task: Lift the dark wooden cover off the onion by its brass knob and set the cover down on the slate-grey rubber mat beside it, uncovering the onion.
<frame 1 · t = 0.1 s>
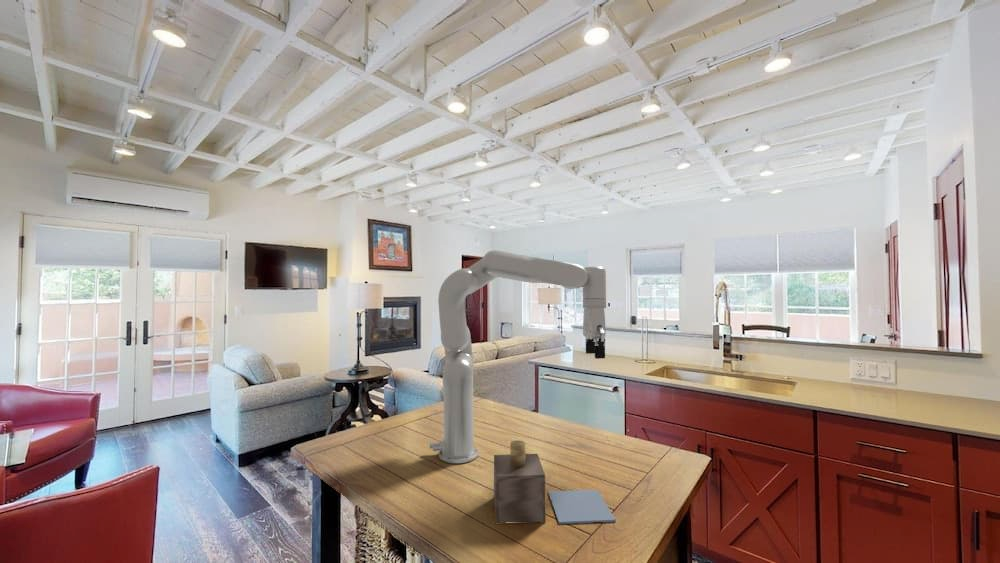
hand: (595, 355, 124), 31 cm above the table, tool pointing down, fingers open, 9 cm apart
mat: (579, 506, 91), on the table
onion: (518, 509, 90), on the table
cover: (518, 508, 90), on the table
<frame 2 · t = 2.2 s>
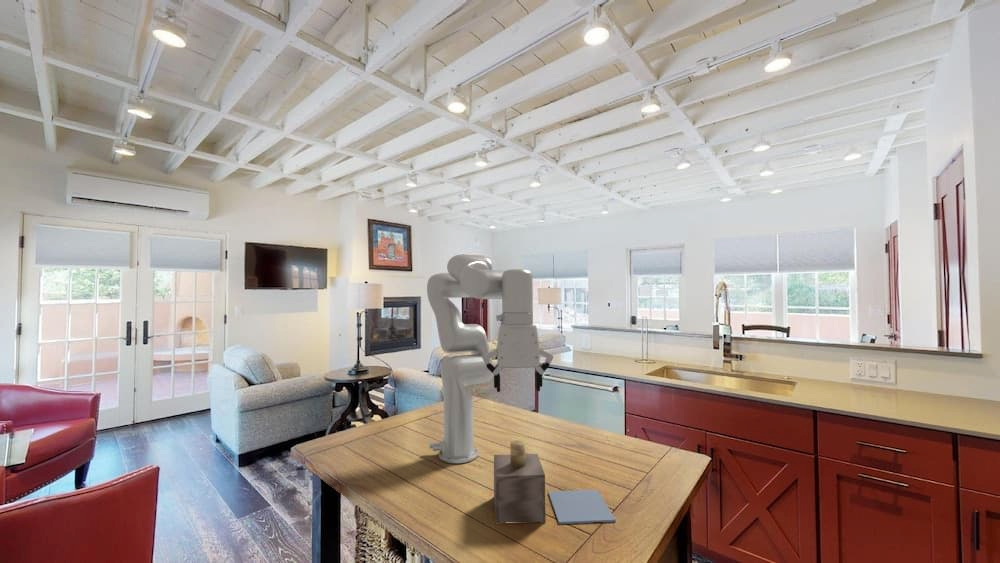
hand: (518, 390, 91), 28 cm above the table, tool pointing down, fingers open, 9 cm apart
nothing on the table moved.
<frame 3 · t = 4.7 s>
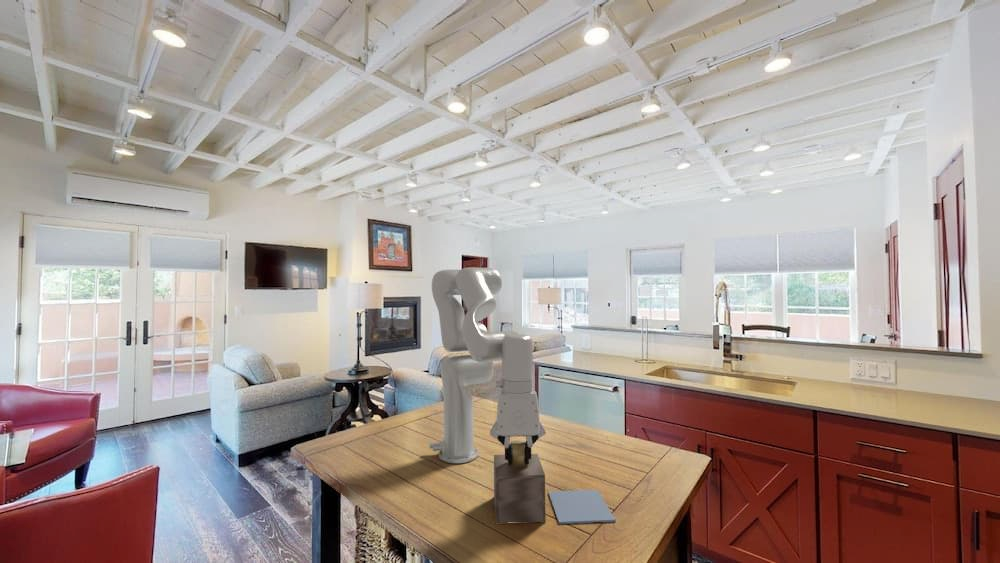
hand: (518, 461, 90), 11 cm above the table, tool pointing down, fingers closed on cover, 3 cm apart
cover: (518, 509, 90), on the table, touching gripper
everything else where it was.
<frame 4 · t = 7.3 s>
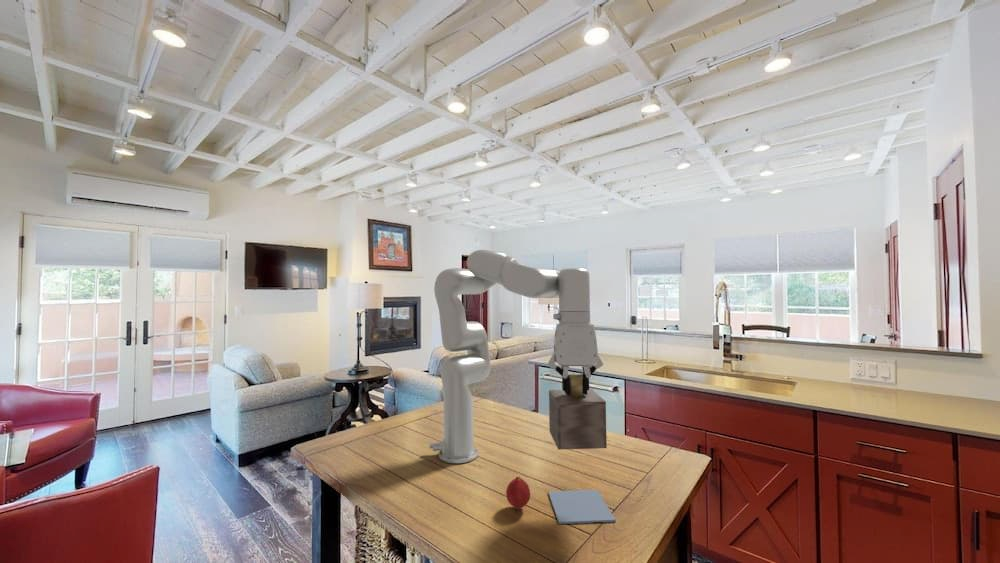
hand: (575, 392, 92), 27 cm above the table, tool pointing down, fingers closed on cover, 3 cm apart
cover: (576, 439, 91), point 16 cm above the table, touching gripper
everything else where it was.
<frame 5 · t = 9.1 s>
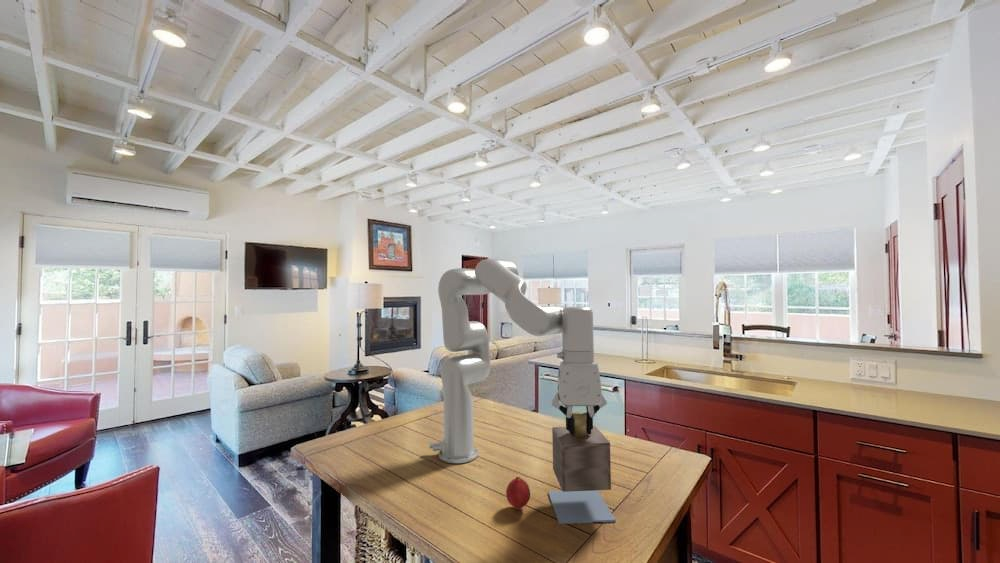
hand: (579, 431, 91), 18 cm above the table, tool pointing down, fingers closed on cover, 3 cm apart
cover: (580, 478, 91), point 7 cm above the table, touching gripper
everything else where it was.
when the fingers open (13 cm above the table, at t = 10.3 s): cover drops 1 cm, resting on mat.
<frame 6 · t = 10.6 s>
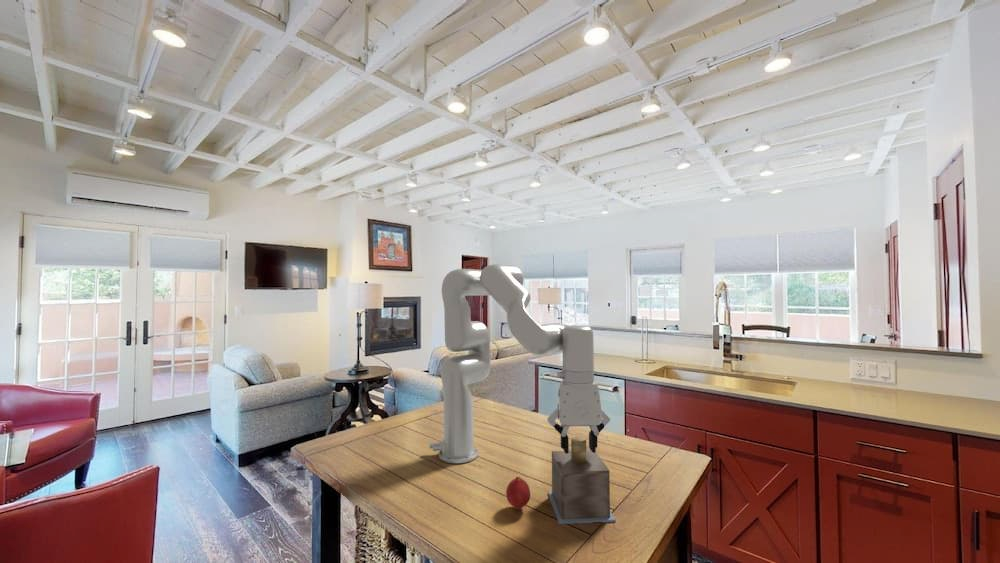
hand: (579, 450, 91), 14 cm above the table, tool pointing down, fingers open, 6 cm apart
cover: (579, 504, 91), resting on mat
everything else where it was.
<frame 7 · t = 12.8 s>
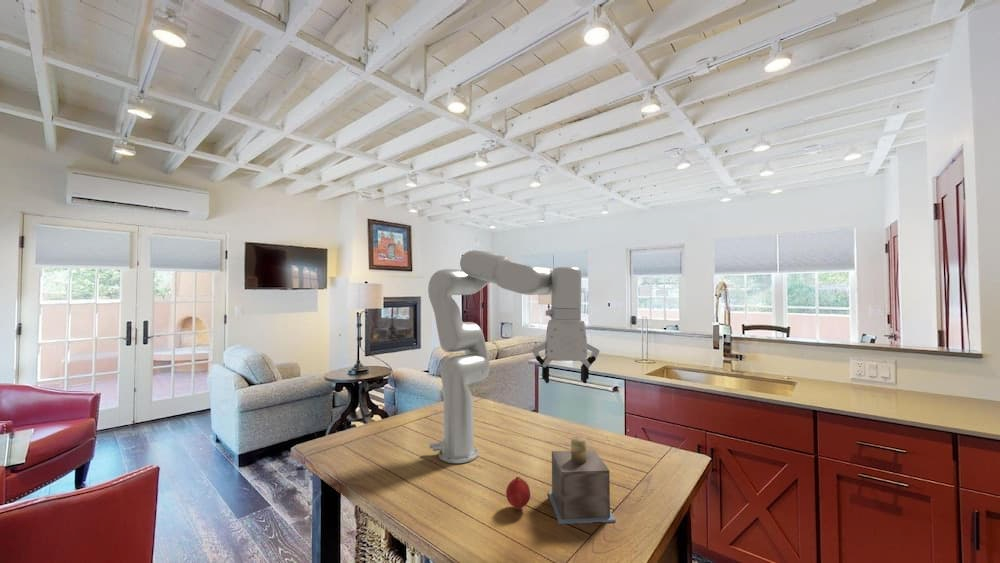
hand: (565, 381, 96), 29 cm above the table, tool pointing down, fingers open, 9 cm apart
nothing on the table moved.
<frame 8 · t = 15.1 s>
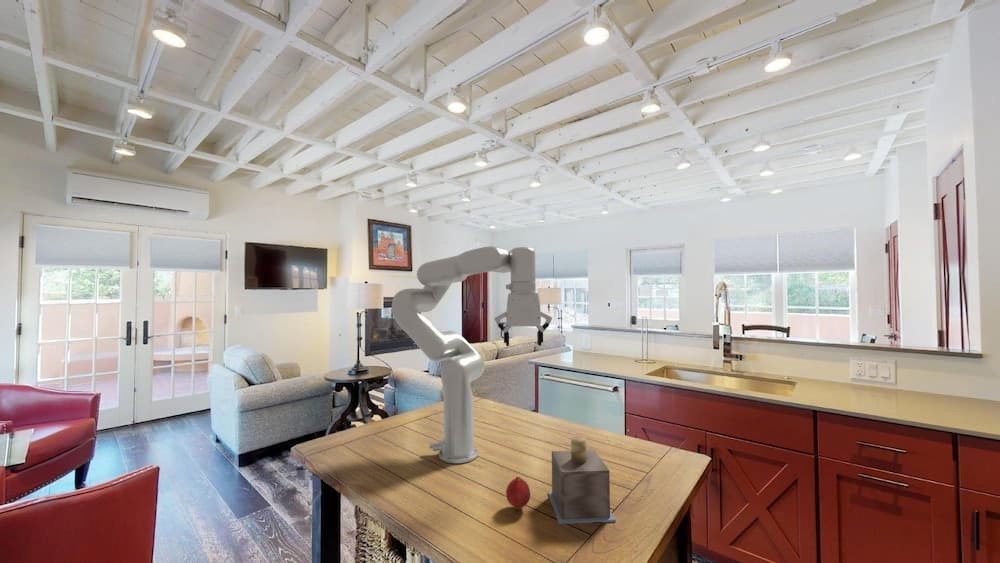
hand: (523, 345, 112), 36 cm above the table, tool pointing down, fingers open, 9 cm apart
nothing on the table moved.
at the end: cover 0.1 cm off-centre on the mat, point 0.5 cm above the mat's base; cover tilted 0° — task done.
